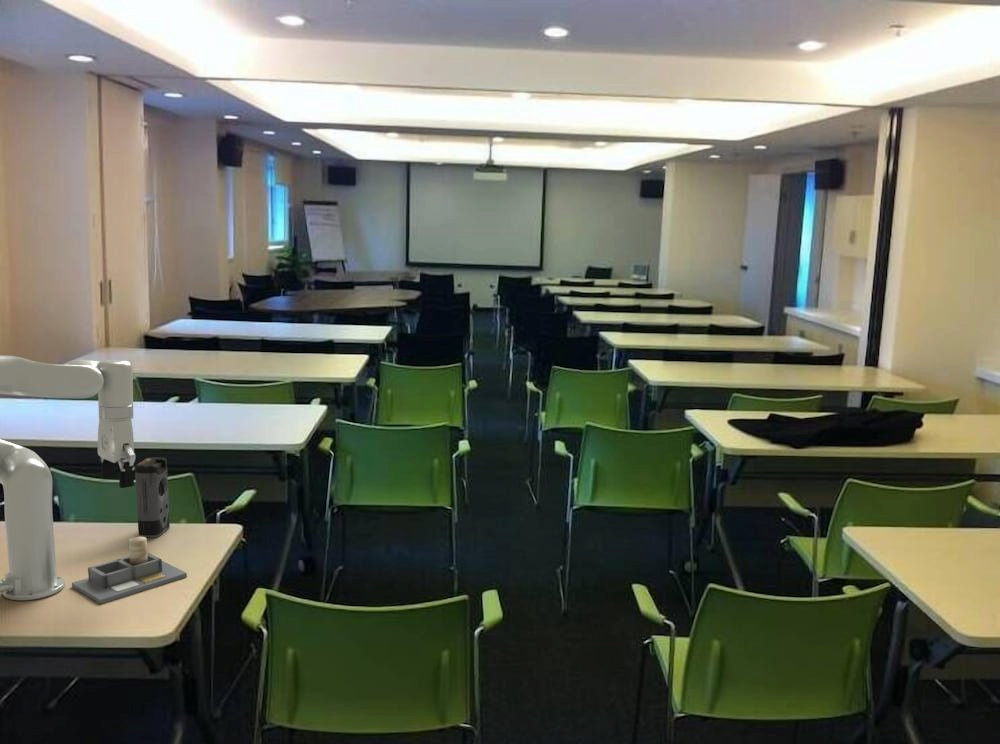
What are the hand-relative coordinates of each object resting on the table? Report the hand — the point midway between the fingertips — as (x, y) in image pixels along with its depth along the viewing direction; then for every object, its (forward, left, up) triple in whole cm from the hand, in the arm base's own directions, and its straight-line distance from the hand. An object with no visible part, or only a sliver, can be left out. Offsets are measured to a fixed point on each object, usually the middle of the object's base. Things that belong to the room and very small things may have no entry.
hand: (117, 482), depth 210 cm
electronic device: (+19, +20, -23) cm, 36 cm away
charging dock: (-2, -7, -23) cm, 24 cm away
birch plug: (+2, -5, -21) cm, 22 cm away
